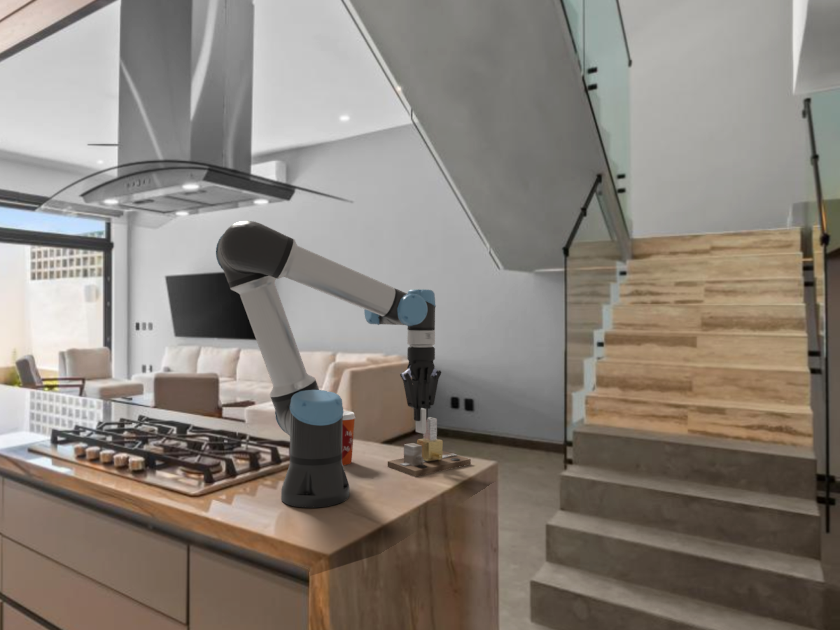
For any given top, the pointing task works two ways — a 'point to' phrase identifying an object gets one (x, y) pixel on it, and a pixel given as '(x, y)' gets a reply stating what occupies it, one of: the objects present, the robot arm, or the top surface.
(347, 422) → the paper cup
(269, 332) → the robot arm
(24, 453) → the top surface
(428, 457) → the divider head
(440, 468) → the assembly board
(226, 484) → the top surface
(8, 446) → the top surface
